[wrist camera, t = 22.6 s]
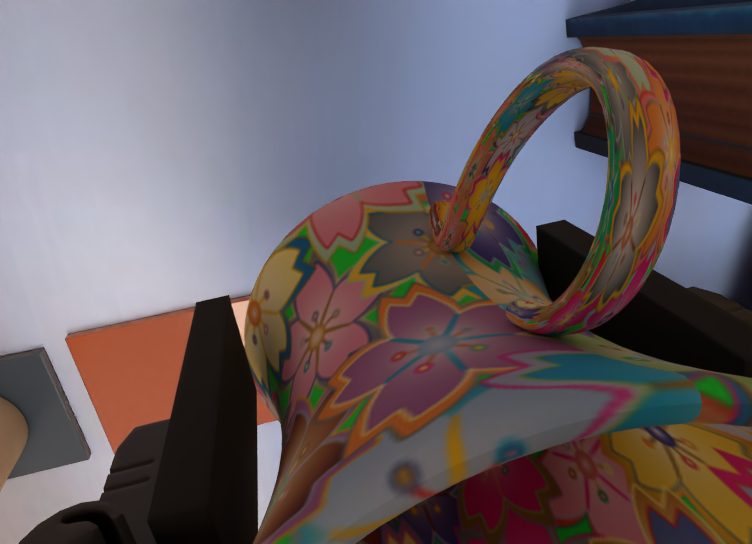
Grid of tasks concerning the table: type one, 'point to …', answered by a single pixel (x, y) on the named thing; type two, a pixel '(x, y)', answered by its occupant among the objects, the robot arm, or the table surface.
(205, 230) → the table surface
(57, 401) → the candle tile
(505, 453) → the mug
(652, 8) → the book
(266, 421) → the mug tile
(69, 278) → the table surface
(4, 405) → the candle
